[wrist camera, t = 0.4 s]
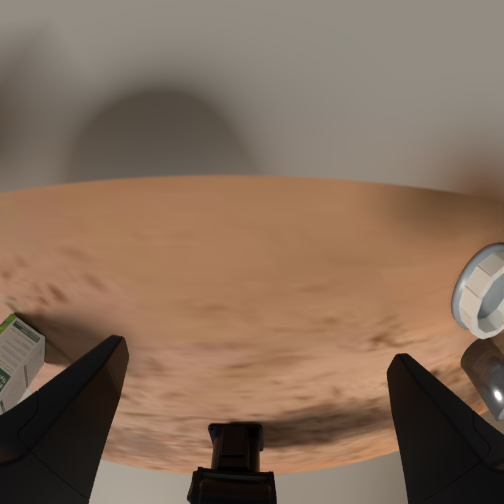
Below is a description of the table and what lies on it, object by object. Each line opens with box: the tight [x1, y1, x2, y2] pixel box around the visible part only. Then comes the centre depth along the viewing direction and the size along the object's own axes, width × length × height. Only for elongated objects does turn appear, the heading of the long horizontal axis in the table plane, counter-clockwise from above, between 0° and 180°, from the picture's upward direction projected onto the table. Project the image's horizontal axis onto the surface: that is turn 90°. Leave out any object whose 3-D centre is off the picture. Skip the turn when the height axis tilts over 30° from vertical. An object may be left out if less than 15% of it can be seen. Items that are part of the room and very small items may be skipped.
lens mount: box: [451, 244, 504, 339], centre depth 23 cm, size 10×10×3 cm
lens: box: [461, 338, 504, 421], centre depth 23 cm, size 5×5×10 cm
